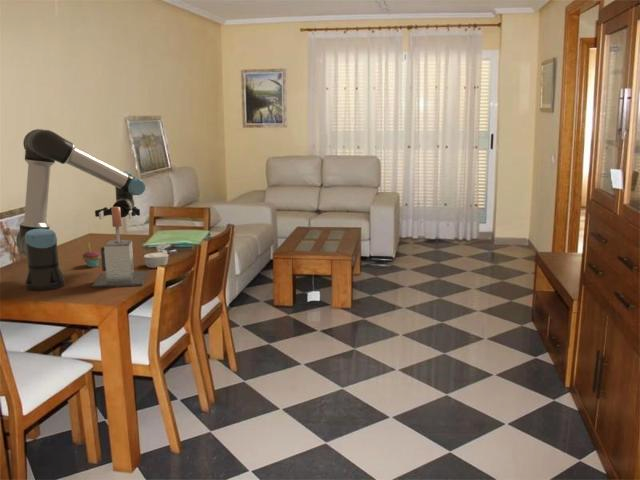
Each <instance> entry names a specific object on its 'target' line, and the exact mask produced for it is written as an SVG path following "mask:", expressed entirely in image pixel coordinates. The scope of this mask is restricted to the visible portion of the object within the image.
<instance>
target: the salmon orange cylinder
mask: <svg viewBox="0 0 640 480" xmlns="http://www.w3.org/2000/svg"><path fill="white" fill-rule="evenodd" d="M110 208H111V210H112V215H111V219H112V220H111V221H112V227H113V228H115V237H116V238H115V240H116V241H117V243H120V240H121V238H120V227H122V224H123V223H122V218H121V210H120V207H113V206H111V207H110Z"/></svg>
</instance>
